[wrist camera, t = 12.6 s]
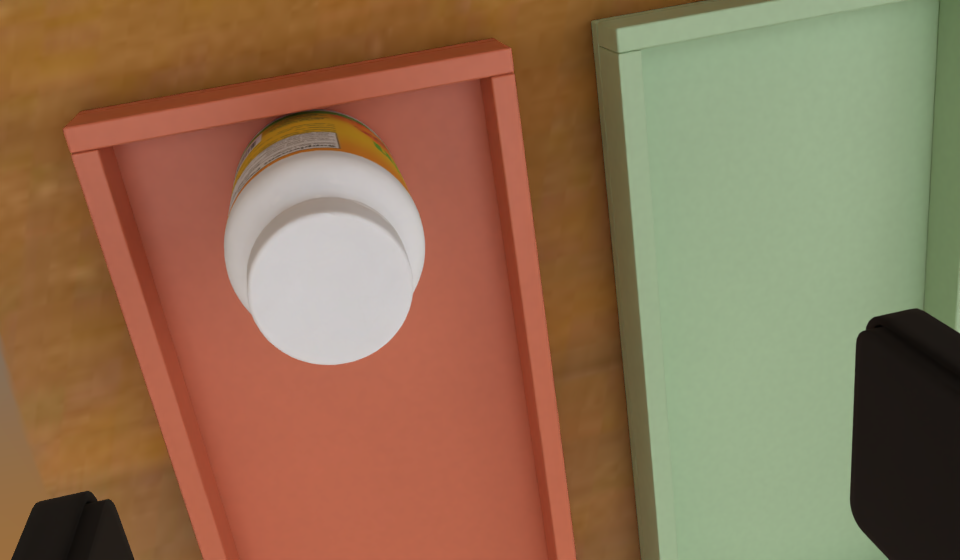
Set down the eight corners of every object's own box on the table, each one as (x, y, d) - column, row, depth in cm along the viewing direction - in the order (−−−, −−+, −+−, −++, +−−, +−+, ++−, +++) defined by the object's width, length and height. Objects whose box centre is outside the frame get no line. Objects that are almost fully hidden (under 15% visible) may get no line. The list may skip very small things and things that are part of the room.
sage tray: (590, 20, 31) (615, 28, 29) (949, -44, 33) (1001, -41, 31) (647, 634, 42) (669, 677, 39) (916, 561, 44) (953, 598, 41)
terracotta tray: (79, 111, 29) (61, 127, 27) (493, 37, 31) (511, 47, 28) (277, 735, 40) (277, 787, 37) (576, 654, 41) (594, 698, 39)
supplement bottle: (416, 233, 32) (468, 352, 23) (268, 281, 32) (262, 421, 23) (370, 85, 30) (408, 153, 21) (210, 134, 29) (179, 224, 20)
